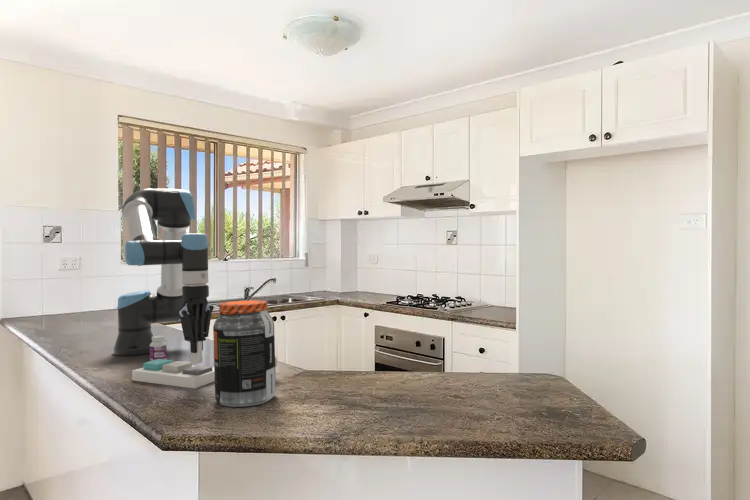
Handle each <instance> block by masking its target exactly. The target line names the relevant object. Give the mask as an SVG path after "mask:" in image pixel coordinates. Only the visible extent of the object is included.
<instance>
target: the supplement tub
mask: <svg viewBox="0 0 750 500" xmlns="http://www.w3.org/2000/svg"><path fill="white" fill-rule="evenodd" d="M218 308H219V309H218V311H219V315H218V317H217V318H216V319H215V320H214V323H213V327H212V330H213V331H212V333H213V367H214V373H215V381H214V396H215V400H216V401H217V403H218V404H219V405H221V406H225V407H233V408H236V407H238V408H239V407H241V408H242V407H251V406H253V407H254V406H258V405H262V404H264V403H267V402H269V401H271V399H273V397H274V396H275V395H276V389H277V387H276V385H277V384H276V383H277V382H276V368H275V357H276V352H275V351H276V348H275V347H276V346H275V345H276V343H275V337H276V336H275V321H274V319H273V317H272V316H271V315H270V313H269V307H268V302H267V301H266V300H258V299H254V300H253V299H251V300H246V299H245V300H234V301H233V300H232V301H225V302H220V303H219V307H218Z"/></svg>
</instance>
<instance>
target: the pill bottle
mask: <svg viewBox="0 0 750 500" xmlns="http://www.w3.org/2000/svg"><path fill="white" fill-rule="evenodd" d="M164 340H165V335H153V337H152V341H153V342H152V343H151V344H150V353H149V361H153V360H156V359H165V360H168V359H167V357H168V356H167V343H166V341H164Z"/></svg>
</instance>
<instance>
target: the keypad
mask: <svg viewBox="0 0 750 500" xmlns="http://www.w3.org/2000/svg"><path fill="white" fill-rule="evenodd" d="M193 366H196V364H195V365H194V364H192V367H193ZM211 367H212V371H210V372H207V373H204V374H201V375H190V374H183V371H182V372H179V373H173V372H164V371H163V369H162V370H159V371H155V370H147V369H144V367H140V368H136V369H133V370H131V380H132V381H134V382H135V381H136V382H142V383H143V382H144V383H151V384H157V385H166V386H173V387H179V388H181V387H182V388H187V389H188V388H189V389H197V388H201V387H203V386H205V385H208V384H211V383H215V373H214V366H211Z"/></svg>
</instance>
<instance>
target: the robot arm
mask: <svg viewBox="0 0 750 500" xmlns="http://www.w3.org/2000/svg"><path fill="white" fill-rule="evenodd" d="M122 215H123V218H124V220H125V221H126V222H127V227H128V234H129V239H130V240H127V241H126V242H125V243H124V255H125V256H124V257H125V259H124V260H125V263H126V265H128V266H138V267H140V266H153V265H154V266H157V265H160V266H161V271H160V272H161V273H160V286H158V287H157V289H156V293H151V291H150V290H141V291H140V290H139V291H134V292H133V291H132V292H128V293H124V294H121V295H120V296H119V297H118V298H117V307H116V309H117V321H118V322H117V327H118V328H117V331H118V333H117V337H116V341H115V343H114V347H113V355H115V356H122V357H123V356H124V357H125V356H128V357H131V356H139V355H146V354H150V344H151V343H152V342H153V341H152V337H153V336H154V335H153V332H152V324H162V323H164V324H165V323H173V322H175V323H177V322H180V324H181V329H182V334H183V339H184V341H187V342H189V343H190V344H189V345H190V353H191V362H192V364H196V365H197V364H198V365H199V364H202V363H203V350H204V341H206V340H207V338H208V337H209V333H210V325H211V319H212V313H213V310H214V309H215V308H214V305H212V304H211V305H210V304H209V302H208V299H207V298H209V296H210V286H209V285H208V283H209V242H208V235H207V233H187V229H188V228H189V227H190V226H191V222H193V221H194V220H195V219H196V209H195V202H194V196H193V195H192V192H191V191H190V190H188V189H187V190H186V189H179V188H143V189H142V188H141V189H140V190H137V191H135V192H133V193H132V194H131V195H129V196H128V197H127V198H126V200H125V201H124V202H123V205H122ZM153 221H157V225H158V226H159V228H161V239H160V240H157V236H156V234H155V233H156V232H155V228H154V224H153Z"/></svg>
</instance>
